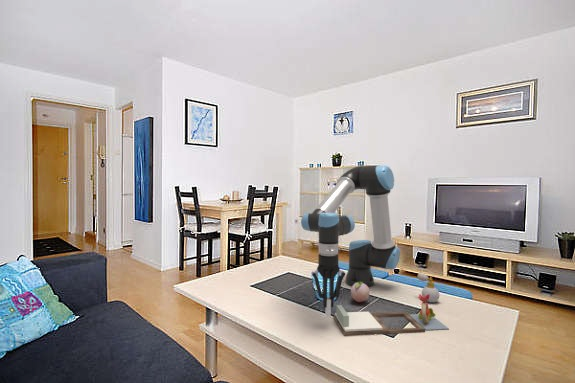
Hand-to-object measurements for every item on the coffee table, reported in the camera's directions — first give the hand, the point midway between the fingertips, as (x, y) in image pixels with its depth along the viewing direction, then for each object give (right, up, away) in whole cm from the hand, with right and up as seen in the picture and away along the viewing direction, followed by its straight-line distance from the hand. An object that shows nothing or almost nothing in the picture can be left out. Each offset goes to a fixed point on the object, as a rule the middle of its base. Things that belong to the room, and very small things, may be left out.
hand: (328, 315), depth 116 cm
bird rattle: (+39, -4, +4) cm, 40 cm away
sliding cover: (+12, -3, +1) cm, 12 cm away
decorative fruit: (+18, -4, +23) cm, 30 cm away
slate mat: (+40, -4, +4) cm, 40 cm away
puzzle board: (+19, -4, +2) cm, 20 cm away
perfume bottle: (+50, -4, +26) cm, 56 cm away
